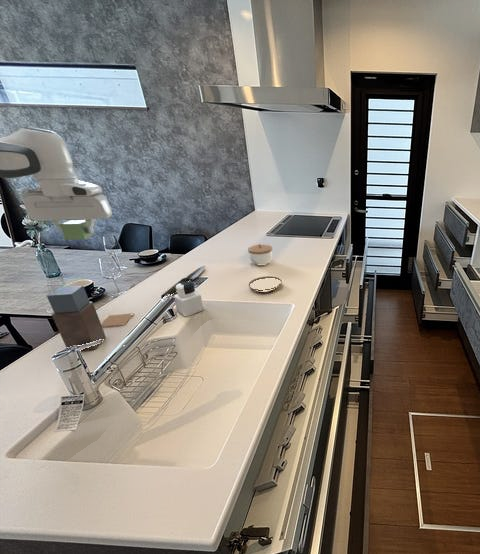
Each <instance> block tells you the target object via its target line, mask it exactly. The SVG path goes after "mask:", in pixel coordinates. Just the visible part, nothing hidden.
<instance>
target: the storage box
mask: <svg viewBox="0 0 480 554" xmlns="http://www.w3.org/2000/svg"><path fill="white" fill-rule="evenodd" d="M95 307H96V306H95V305H94V302H93V301H89V303H88V304H87V305H86V306H85V307H83V308H82V309H81V310H80V311H79V312H67V313H54V312H53V313H52V314H51V317H52V319H53V321H54V324H55V326H56V328H57V330H58V332H59V335H60V337H61V339H62V341H63V343H64V345H65V347H66V349H67V347H70V346H73V345H82V344H86V343H90V342H93V341H96V340H99V339H104V338H105V339H106V338H107V336H106V333H105V331H104V327H102V325H101V323H102V322H101V321H100V317H99V315H98V313H97V309H96V308H95ZM105 339H104V340H105ZM100 345H101V344H97V345H95V346H91V347H89V348H85V349H83V350H81V351H80V352H88V351H96V349H98V348H99V346H100Z"/></svg>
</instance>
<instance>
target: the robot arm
mask: <svg viewBox="0 0 480 554" xmlns="http://www.w3.org/2000/svg"><path fill="white" fill-rule="evenodd" d="M27 176H35V178H36V180H37V183H38V185H39V187H38V188H31V187H29V188H24V189H23V190H22V191H21V193H20V196H21V199H22V201H23V204H24V208H25V211H26V215H27V217H28V218H29V219H30V220H32V221H51V222H52V224H53V225H54V226H55V228H58V229H59V231H60V233H61V234H62V235H64V234H63V232H62V229H61V227H60V224H62V223H64V221H70V220H85V221H86V223H88V227H86V228H85V231H86V233H93V234H94V233H95V228H94V226H95V223H96V220H107V219H109V218H111V217H112V215H113V210H112V207H111V205H110V202H109V201H108V198H107V197H106V196H105V195H104V194H102V192H103V188H102V187H101V186H100V185H97V184H94V183H90V182H86V181H83V180H80V179H79V176H78V174H77V173H76V172H75V169H74V162H73V158H72V156H71V153H70V151H69V148H68V146H67V144H66V142H65V140H64V139H63V137H62V136H61V135H59V134H58V133H57V132H55V131H52V130H48V129H43V128H37V127H31V126H23V127H20V128H19V129H18V130H16V131H15V132H12V133H10V134H8V135H5V136H3V137H0V178H1V179H7V180H10V179H11V180H13V179H20V178H23V177H27Z"/></svg>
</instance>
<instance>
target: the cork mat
mask: <svg viewBox="0 0 480 554" xmlns="http://www.w3.org/2000/svg"><path fill="white" fill-rule="evenodd" d="M130 314H131V313H120V314H111V315H108V317H106V318H105V319H104V320H103V321H102V322H100V323H101V325H102V328H112V327H122V325H124V326H125V325H126V324H127V323H128V322H129V321H130V319H131V318H132V317H133V316H132V315H130ZM132 314H134V315H135V313H132ZM131 316H132V317H131ZM130 317H131V318H130ZM129 318H130V319H129ZM128 320H129V321H128ZM127 321H128V322H127ZM126 322H127V323H126ZM125 323H126V324H125Z"/></svg>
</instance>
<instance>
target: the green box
mask: <svg viewBox="0 0 480 554" xmlns="http://www.w3.org/2000/svg"><path fill="white" fill-rule="evenodd" d="M61 223H62V224H60V227H61V229H62V232H63V234H62V235H63V237H64V240H65V241H81V240H82V241H83V240H87V239H89V238H91V237H93V236H94V233H86V231H85V228H86V227H88V223H86V221H85V219H83V220H66V221H65V222H61Z"/></svg>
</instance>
